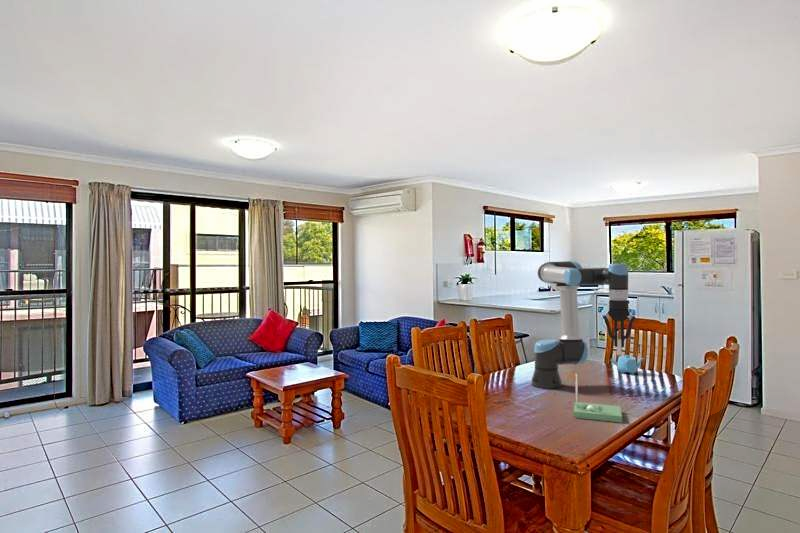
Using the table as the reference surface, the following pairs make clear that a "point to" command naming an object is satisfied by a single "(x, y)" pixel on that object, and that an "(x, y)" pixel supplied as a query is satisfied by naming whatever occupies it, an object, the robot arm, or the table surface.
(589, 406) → the ball
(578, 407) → the green
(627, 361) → the teapot
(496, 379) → the table surface
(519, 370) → the table surface
